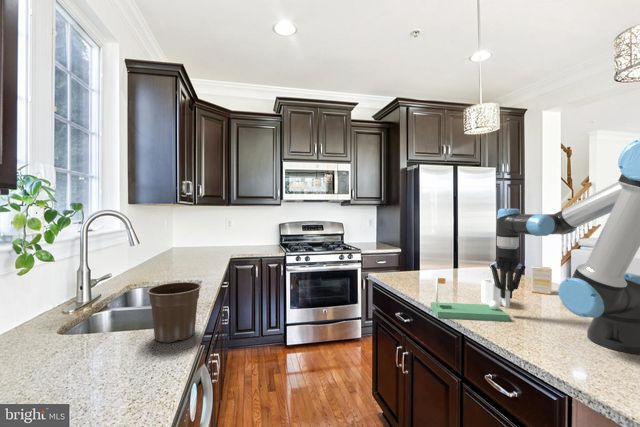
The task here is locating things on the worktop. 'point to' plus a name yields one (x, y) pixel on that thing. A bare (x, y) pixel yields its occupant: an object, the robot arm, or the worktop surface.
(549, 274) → the supplement box
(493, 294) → the mug
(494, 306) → the ball
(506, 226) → the robot arm
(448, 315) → the putting strip
